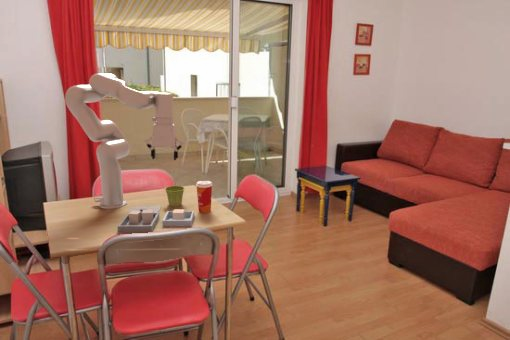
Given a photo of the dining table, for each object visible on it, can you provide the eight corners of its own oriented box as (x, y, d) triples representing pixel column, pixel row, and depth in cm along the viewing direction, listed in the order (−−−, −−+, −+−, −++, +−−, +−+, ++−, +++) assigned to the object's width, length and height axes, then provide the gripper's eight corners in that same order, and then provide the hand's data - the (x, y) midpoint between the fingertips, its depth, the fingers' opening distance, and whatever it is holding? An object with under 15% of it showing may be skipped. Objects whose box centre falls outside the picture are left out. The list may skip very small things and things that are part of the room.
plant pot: (187, 202, 201) (186, 185, 199) (182, 208, 192) (181, 191, 190) (169, 201, 202) (168, 185, 200) (163, 208, 192) (162, 190, 190)
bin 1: (118, 233, 162) (117, 226, 161) (128, 219, 177) (128, 212, 177) (152, 233, 162) (151, 226, 162) (159, 219, 178) (159, 212, 177)
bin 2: (162, 227, 168) (162, 220, 168) (167, 217, 180) (167, 211, 179) (191, 227, 169) (191, 220, 168) (194, 217, 181) (194, 210, 180)
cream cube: (172, 222, 172) (172, 212, 171) (174, 219, 176) (174, 209, 175) (183, 222, 172) (183, 212, 171) (184, 219, 176) (184, 209, 175)
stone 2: (142, 223, 171) (142, 213, 170) (143, 219, 175) (142, 209, 174) (153, 222, 172) (152, 212, 171) (154, 218, 176) (153, 209, 175)
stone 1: (129, 222, 172) (128, 213, 171) (133, 219, 176) (132, 210, 175) (138, 223, 171) (137, 214, 170) (141, 219, 175) (141, 211, 174)
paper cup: (197, 208, 192) (196, 180, 189) (213, 208, 193) (212, 180, 189) (196, 214, 184) (195, 184, 181) (212, 213, 185) (212, 184, 182)
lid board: (124, 218, 178) (124, 214, 178) (132, 208, 192) (132, 204, 191) (155, 218, 179) (155, 214, 178) (161, 207, 192) (161, 204, 192)
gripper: (142, 121, 173) (143, 160, 177) (182, 123, 173) (182, 161, 177) (146, 119, 180) (147, 156, 184) (185, 121, 180) (185, 158, 185)
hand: (164, 158), depth 181 cm, fingers open, 9 cm apart
